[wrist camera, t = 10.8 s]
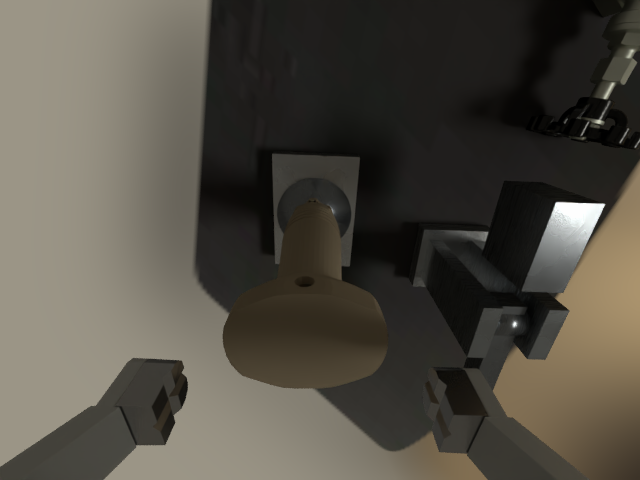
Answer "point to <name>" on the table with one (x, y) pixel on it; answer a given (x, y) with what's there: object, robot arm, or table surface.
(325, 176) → the frame
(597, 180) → the table surface
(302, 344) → the handle
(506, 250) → the lever
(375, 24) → the table surface
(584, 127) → the valve
